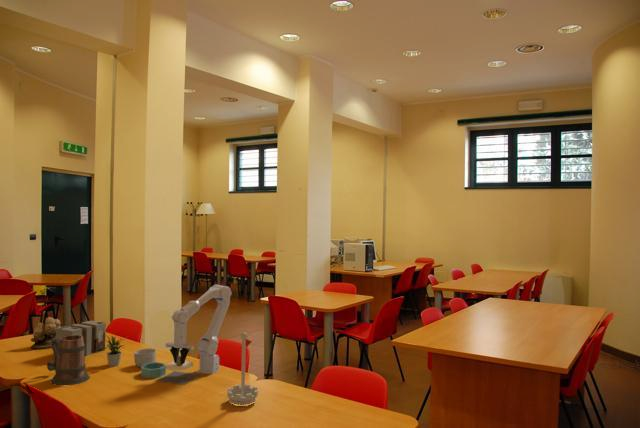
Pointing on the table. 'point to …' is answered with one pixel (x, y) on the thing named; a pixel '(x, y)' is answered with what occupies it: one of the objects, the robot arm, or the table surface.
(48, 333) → the beige lumpy cluster
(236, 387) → the flag stand
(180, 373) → the mat
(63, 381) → the tankard
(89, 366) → the table surface
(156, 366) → the bowl
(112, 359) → the house plant
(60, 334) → the bookend
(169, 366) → the lid
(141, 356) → the teacup
